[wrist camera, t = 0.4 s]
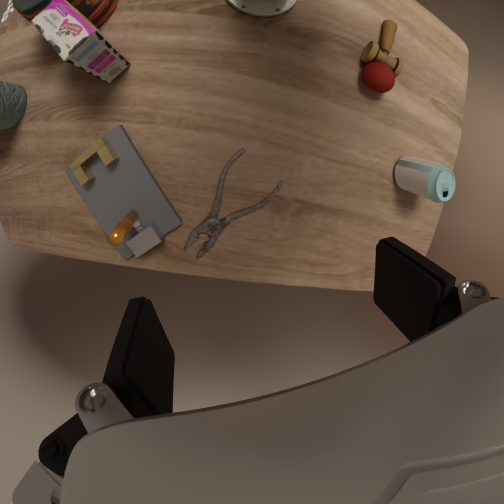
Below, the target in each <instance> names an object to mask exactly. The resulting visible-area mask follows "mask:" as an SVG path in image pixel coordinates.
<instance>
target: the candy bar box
mask: <svg viewBox="0 0 504 504" xmlns="http://www.w3.org/2000/svg"><path fill="white" fill-rule="evenodd" d="M32 23H33V24H34V25H35V26H36V28H37V29H38V30H39V32H40V33H41V34H42V35H43V36H44V38H45V39H46V40H47V41H48V43H49V44H50V45H51V46H52V47H53V49H54V50H55V51H56V52H57V53H58V55H59V56H60V57H61V58H62V59H63V60H64V61H66V62H68V63H71V64H72V65H74V66H76V67H78V68H80V69H82V70H84V71H86V72H88V73H90V74H92V75H93V76H95V77H97V78H99V79H101V80H103V81H105V82H106V83H108V84H109V83H111V82H112V81H113V80H114V79H115V78H116V77H117V76H118V75H119V74H120V73H122V72H123V71H124V70H125V69H126V68H127V67H128V66H130V63H129V62H128V61H127V60H126V59H125V57H124V56H123V55H122V54H121V53H120V52H119V50H118V49H117V48H116V47H115V46H114V45H113V44H112V43H111V42H110V41H109V40H108V39H107V38H106V37H105V36H104V35H103V34H102V33H101V32H100V31H99V30H98V29H97V28H96V27H95V26H94V25H93V24H92V23H91V22H90V21H89V20H88V19H87V18H86V17H85V16H84V15H83V14H81V13H80V12H79V11H78V10H77V9H76V8H75V7H73V6H72V5H71V4H70V3H69V2H68V1H66V0H52V1H51V2H50V3H49V4H48V5H47V6H46V7H45V8H44V9H43V10H42V11H41V12H40V13H38V14H37V16H36V17H35V18H34V19H33V20H32Z"/></svg>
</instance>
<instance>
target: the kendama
mask: <svg viewBox="0 0 504 504" xmlns="http://www.w3.org/2000/svg"><path fill="white" fill-rule="evenodd" d="M396 30H397V24H396V23H395V22H393V21H391V20H385V21H383V30H382V39H381V49H380V47H379V45H378V44H377V43H376V42H374V41H371V42H369V43H368V44H367V46H366V47H365V49H364V51H363V53H362V56H361V60H362V61H364V62H365V63H368V64H367V65H366V66H365V67H364V69H363V71H362V78H363V81H364V83H365V85H366V86H367V87H368V88H369V89H371V91H375V92H378V93H385V92H388V91H390V90H391V89H392V87H393V86H394V83H395V77H397V76H398V75H399V74H400V72H401V71H402V69H403V65H404V63H403V61H402V60H401V59H399V58H391V57H389V56H388V54H389V52H390V50H391V47H392V44H393V41H394V37H395V33H396Z"/></svg>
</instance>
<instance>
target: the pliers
mask: <svg viewBox="0 0 504 504" xmlns="http://www.w3.org/2000/svg"><path fill="white" fill-rule="evenodd" d="M243 152H245V149H241V150H240V151H239V152H237V153H236V154H235V155H234V156H233V157H232V158H231V159H230V160H229V162H228V163H227V164H226V166H225V168H224V169H223V171H222V173H221V176H220V179H219V183H218V188H217V193H216V198H215V202H214V206H213V208H212V210H211V212H210V213H209V215H208V217H207V218H206V220H204V221H203V222H202V223H201V224H200V225H199V226H198V227H197V228H195V229H194V230H193V231H192V232H191V234H190V236H189V239H188V241H187V243H186V245H185V247H184V250H186V249H187V248H188V247H190V246H191V244H192V242H193V241H195V240H198V239H199V237H198V235H199V234H200V233H204V234H205V233H207V234H208V237H209V241H208V242H204V244H203V248H202V249H201V250H200V251H199V253H198V255H197V257H196V259H198V258H200V257H201V256H202V255H203V254H204V253H205V252H207V251H208V250H209V249H210V248H211V247H212V246H213V245H214V243H215V241H216V240H217V238H218V236H219V235H220V233H221V231H222V230H223V229H224V228H225V227H226V226H227V225H228V224H229V223H230V222H231V221H233V220H235V219H237V218H239V217H241V216H244V215H246V214H248V213H251V212H253V211H255V210H257V209H259V208H261V207H263V206H264V205H265V204H267V203H268V202H269V201H270V200H271V199H272V198H273V197H274V196H275V195H276V193H277V192H278V191H279V189H280V188H281V186H282V184H283V181H280V182H279V184H278V185H277V187H276V188H275V190H274V191H273V192H272V193H271V194H270V195H269V196H268V197H267V198H266V199H265V200H263V201H262V202H260V203H259V204H256V205H254V206H251V207H249V208H246V209H243V210H240V211H237V212H234V213H232V214H230V215H228V216H226V217H224V218H223V219H221V220H218V219H217V216H218V213H219V210H220V206H221V201H222V193H223V186H224V180H225V176H226V174H227V171H228V170H229V168H230V166H231V165H232V163H233V162H234V161H235V160H236V159H237V158H238V157H239V156H240V155H241V154H242V153H243Z"/></svg>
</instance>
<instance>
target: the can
mask: <svg viewBox="0 0 504 504" xmlns="http://www.w3.org/2000/svg"><path fill="white" fill-rule="evenodd" d="M395 180H396V183H397V185H398V186H399V187H400V188H401V189H404V190H406V191H409V192H412V193H414V194H417V195H419V196H422V197H424V198H427V199H429V200H431V201H434V202H442V201H443V202H445V201H448V200H449V199H450V198H451V197H452V195H453V193H454V190H455V177H454V175H453V172H452V171H451V170H449V169H448V168H447V167H446V166H445V165H444V164H441V163H437V162H433V161H429V160H425V159H420V158H416V157H411V156H404V157H402V158H401V159H400V160H399V161H398V162H397V164H396V167H395Z"/></svg>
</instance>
